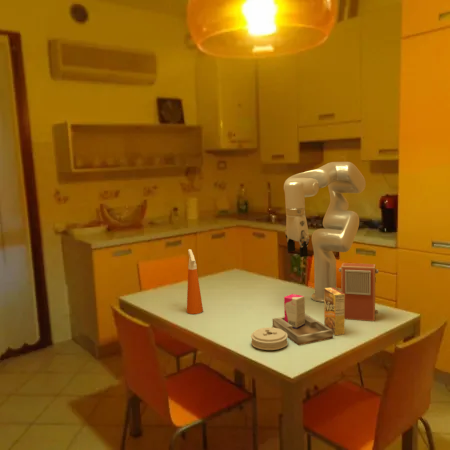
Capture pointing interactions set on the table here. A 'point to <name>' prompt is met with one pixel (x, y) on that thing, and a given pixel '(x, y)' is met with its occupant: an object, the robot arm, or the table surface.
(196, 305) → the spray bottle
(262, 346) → the lid
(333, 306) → the candy box
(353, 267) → the red speaker
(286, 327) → the shallow rectangular tray
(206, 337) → the table surface
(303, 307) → the supplement box
